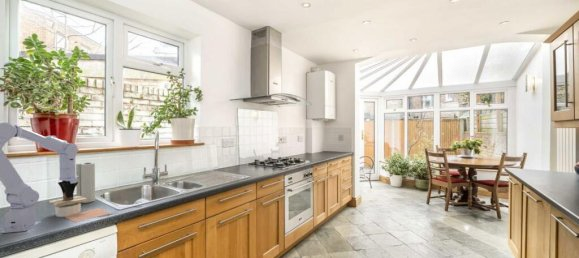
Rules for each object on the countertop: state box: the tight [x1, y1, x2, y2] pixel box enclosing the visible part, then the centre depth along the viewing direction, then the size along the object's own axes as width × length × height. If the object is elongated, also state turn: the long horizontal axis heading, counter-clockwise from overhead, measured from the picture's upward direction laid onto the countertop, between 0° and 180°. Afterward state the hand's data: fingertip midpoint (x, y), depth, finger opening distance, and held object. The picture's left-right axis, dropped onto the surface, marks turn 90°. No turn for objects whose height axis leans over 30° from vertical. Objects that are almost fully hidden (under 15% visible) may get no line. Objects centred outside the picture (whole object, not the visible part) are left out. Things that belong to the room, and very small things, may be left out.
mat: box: [63, 207, 111, 223], centre depth 120 cm, size 14×14×1 cm
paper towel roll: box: [75, 162, 96, 204], centre depth 142 cm, size 7×6×21 cm
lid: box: [48, 193, 87, 207], centre depth 122 cm, size 11×11×4 cm
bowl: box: [54, 202, 82, 218], centre depth 122 cm, size 9×9×4 cm
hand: (68, 196), depth 122 cm, fingers closed on lid, 3 cm apart
